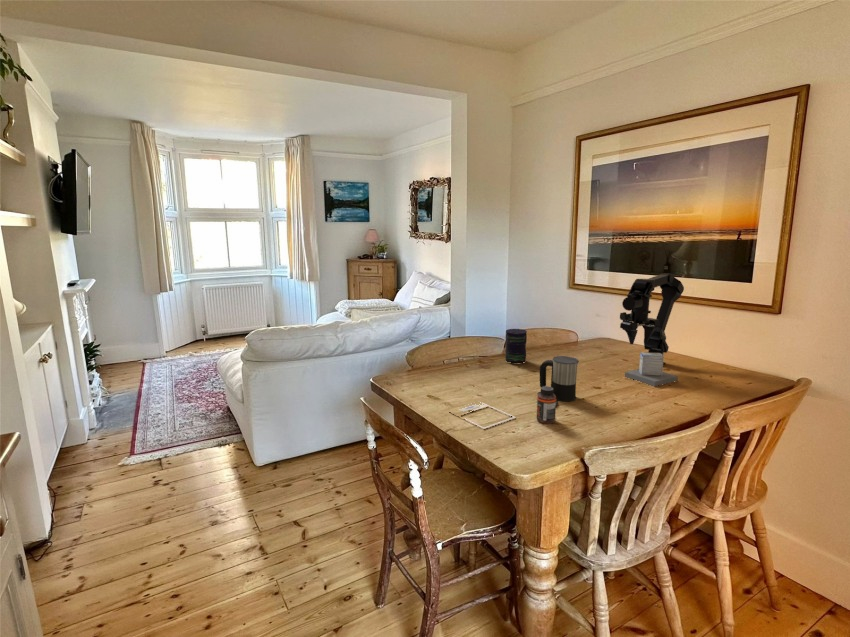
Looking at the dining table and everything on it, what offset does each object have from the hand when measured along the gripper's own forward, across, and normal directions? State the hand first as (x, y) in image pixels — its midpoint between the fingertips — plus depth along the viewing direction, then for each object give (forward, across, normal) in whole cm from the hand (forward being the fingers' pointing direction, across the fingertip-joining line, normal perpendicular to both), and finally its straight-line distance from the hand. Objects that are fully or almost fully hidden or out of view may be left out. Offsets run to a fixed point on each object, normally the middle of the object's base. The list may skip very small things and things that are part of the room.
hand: (638, 343), depth 199 cm
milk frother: (+12, +57, +11) cm, 59 cm away
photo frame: (+13, +89, +9) cm, 90 cm away
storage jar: (+12, +39, -36) cm, 54 cm away
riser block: (+13, +7, +12) cm, 19 cm away
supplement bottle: (+12, +73, +23) cm, 77 cm away
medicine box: (+10, +7, +12) cm, 17 cm away
